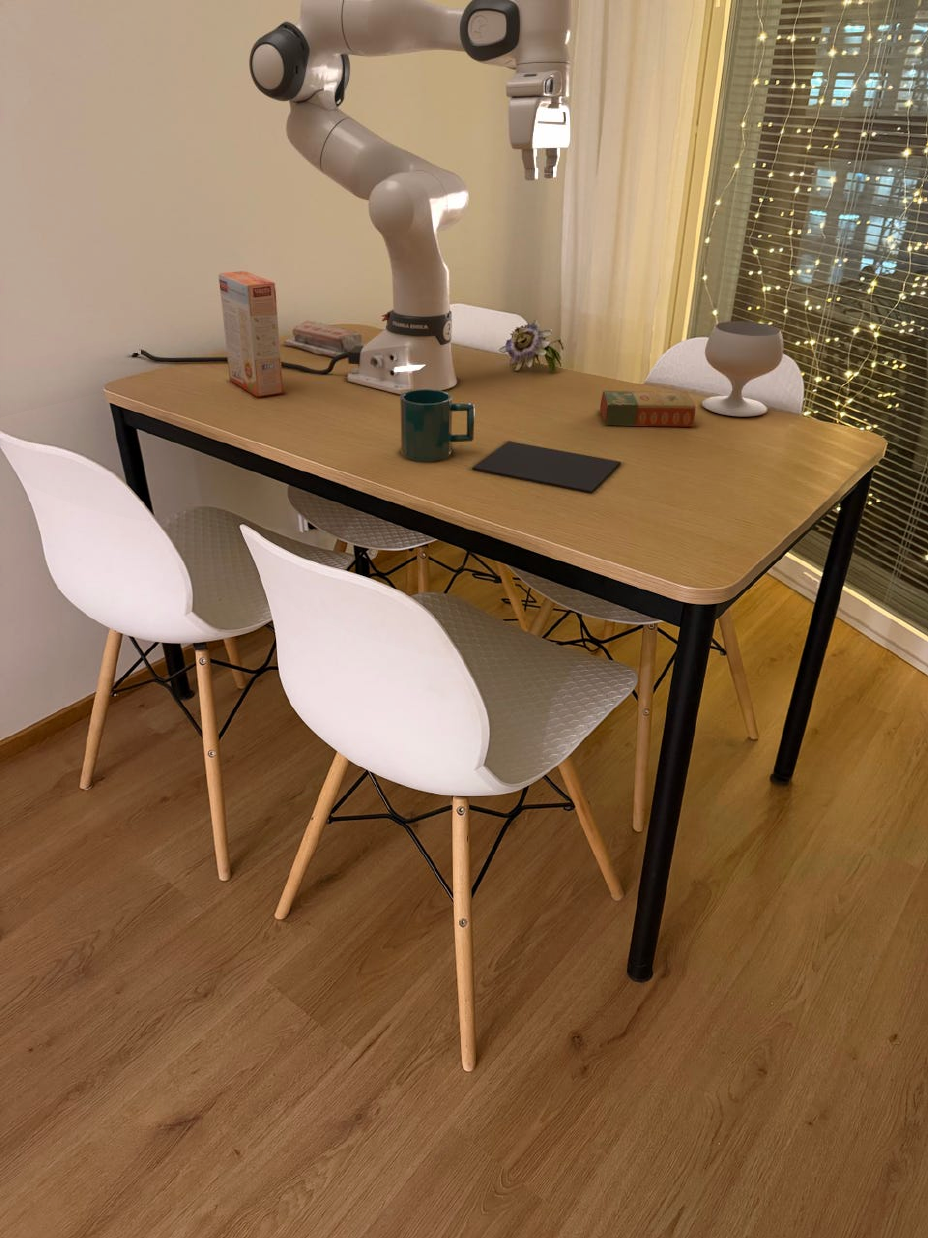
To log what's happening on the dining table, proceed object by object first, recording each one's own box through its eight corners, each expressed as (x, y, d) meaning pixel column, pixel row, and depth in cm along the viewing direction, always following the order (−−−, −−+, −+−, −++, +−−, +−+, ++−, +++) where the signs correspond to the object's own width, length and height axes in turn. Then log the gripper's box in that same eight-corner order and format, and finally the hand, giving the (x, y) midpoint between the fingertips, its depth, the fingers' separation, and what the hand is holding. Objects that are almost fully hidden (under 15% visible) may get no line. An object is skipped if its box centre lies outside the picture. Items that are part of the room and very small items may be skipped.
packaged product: (369, 329, 203) (336, 337, 197) (369, 351, 206) (337, 360, 199) (314, 316, 213) (281, 324, 206) (315, 337, 216) (283, 345, 209)
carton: (693, 428, 164) (696, 404, 162) (604, 425, 164) (606, 402, 162) (685, 413, 171) (688, 390, 169) (599, 411, 171) (601, 388, 169)
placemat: (472, 469, 145) (472, 467, 144) (508, 443, 155) (508, 440, 155) (591, 493, 137) (591, 490, 137) (620, 463, 148) (620, 461, 148)
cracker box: (285, 393, 177) (276, 281, 167) (256, 398, 174) (245, 284, 164) (256, 376, 187) (246, 269, 176) (228, 380, 184) (216, 271, 173)
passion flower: (518, 395, 197) (487, 347, 194) (540, 374, 204) (511, 328, 201) (556, 374, 189) (525, 323, 186) (578, 353, 196) (549, 304, 193)
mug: (403, 462, 147) (402, 405, 142) (399, 445, 154) (398, 389, 149) (477, 460, 148) (478, 403, 143) (469, 442, 155) (471, 387, 150)
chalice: (727, 423, 166) (741, 340, 159) (682, 401, 177) (693, 322, 170) (787, 415, 171) (804, 333, 164) (740, 394, 182) (753, 317, 175)
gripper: (545, 88, 158) (544, 176, 165) (501, 83, 142) (501, 181, 148) (580, 87, 156) (577, 176, 162) (539, 81, 140) (538, 181, 146)
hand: (540, 179), depth 155 cm, fingers open, 8 cm apart
